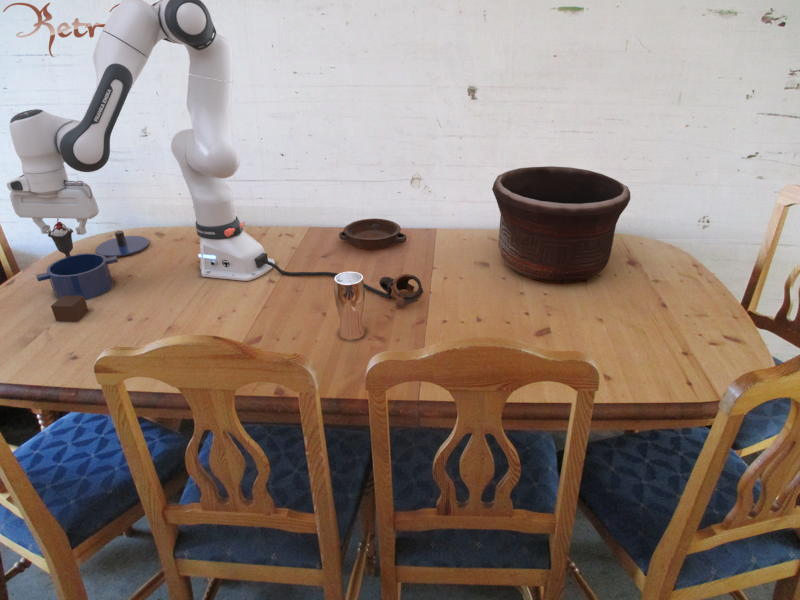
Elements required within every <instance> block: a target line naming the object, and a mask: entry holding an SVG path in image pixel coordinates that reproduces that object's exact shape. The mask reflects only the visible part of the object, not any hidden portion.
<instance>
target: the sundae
mask: <svg viewBox="0 0 800 600" xmlns="http://www.w3.org/2000/svg"><path fill="white" fill-rule="evenodd" d="M56 219H57V220H56V223H55V224H54V225H53V229H52V230H51V232H50V233H49V234H47V237H48V238H51V240H52V241H53V244H54V245H55V247H56V249H57V251H58V252H60V253H62V254H64V255H65V257H68V256H71V252H72V251H73V249H74V243H73V236H72V234H73V233H74V230H73V229H72V228H70V227H67V226H66V224H65V223H62V221H60V218H56Z"/></svg>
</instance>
